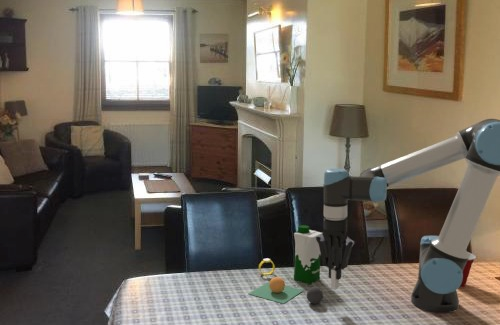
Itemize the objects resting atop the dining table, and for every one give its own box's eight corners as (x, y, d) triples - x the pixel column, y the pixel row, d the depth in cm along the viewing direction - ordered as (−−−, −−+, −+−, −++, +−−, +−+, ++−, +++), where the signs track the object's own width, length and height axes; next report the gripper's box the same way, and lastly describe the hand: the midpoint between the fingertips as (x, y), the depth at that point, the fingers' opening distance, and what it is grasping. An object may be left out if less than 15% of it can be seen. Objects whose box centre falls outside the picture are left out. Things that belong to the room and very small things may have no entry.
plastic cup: (478, 290, 201) (480, 258, 199) (447, 289, 201) (450, 257, 199) (467, 279, 212) (469, 248, 210) (438, 278, 212) (440, 247, 210)
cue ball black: (312, 282, 189) (309, 296, 191) (305, 288, 185) (302, 303, 186) (327, 287, 187) (324, 302, 189) (320, 294, 182) (317, 309, 184)
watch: (260, 277, 211) (259, 261, 210) (258, 274, 213) (257, 259, 212) (275, 274, 212) (275, 259, 211) (273, 272, 215) (272, 257, 214)
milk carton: (302, 273, 214) (304, 222, 211) (323, 279, 209) (325, 227, 206) (290, 280, 207) (291, 227, 204) (311, 286, 202) (313, 232, 199)
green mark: (303, 290, 198) (303, 290, 198) (283, 303, 186) (283, 303, 186) (269, 281, 205) (269, 281, 205) (248, 294, 194) (248, 293, 194)
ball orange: (272, 276, 199) (277, 291, 199) (264, 280, 194) (268, 296, 194) (285, 273, 196) (289, 289, 196) (277, 278, 191) (281, 294, 191)
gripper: (359, 217, 179) (358, 288, 183) (322, 212, 186) (321, 280, 190) (349, 222, 173) (348, 295, 176) (311, 217, 180) (311, 287, 183)
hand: (334, 288), depth 183 cm, fingers closed
